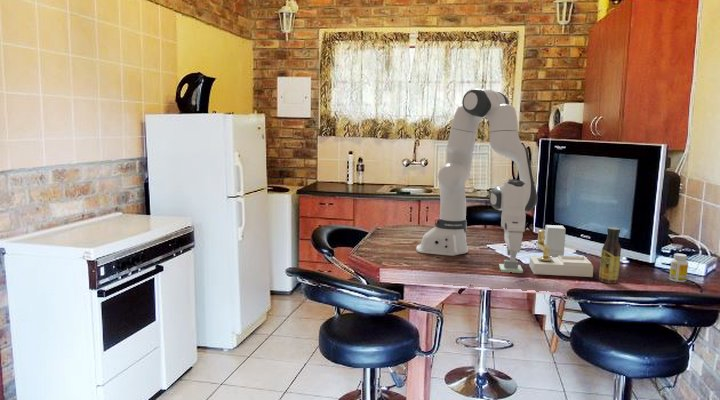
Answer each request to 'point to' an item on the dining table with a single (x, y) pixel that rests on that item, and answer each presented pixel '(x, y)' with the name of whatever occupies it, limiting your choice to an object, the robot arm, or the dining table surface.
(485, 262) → the dining table surface
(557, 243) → the supplement box
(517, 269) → the sage cover
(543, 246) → the brass crank key
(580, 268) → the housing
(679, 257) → the supplement bottle
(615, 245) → the sauce bottle
